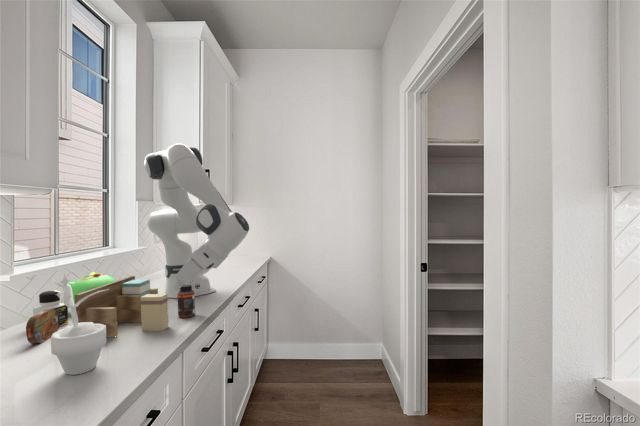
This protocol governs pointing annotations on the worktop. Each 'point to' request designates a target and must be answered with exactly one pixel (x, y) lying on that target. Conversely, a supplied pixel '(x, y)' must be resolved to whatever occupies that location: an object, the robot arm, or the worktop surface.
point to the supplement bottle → (186, 301)
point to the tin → (42, 326)
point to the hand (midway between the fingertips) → (182, 285)
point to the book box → (154, 312)
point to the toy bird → (89, 283)
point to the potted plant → (77, 338)
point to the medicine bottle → (52, 305)
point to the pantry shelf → (110, 306)
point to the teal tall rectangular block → (136, 287)
